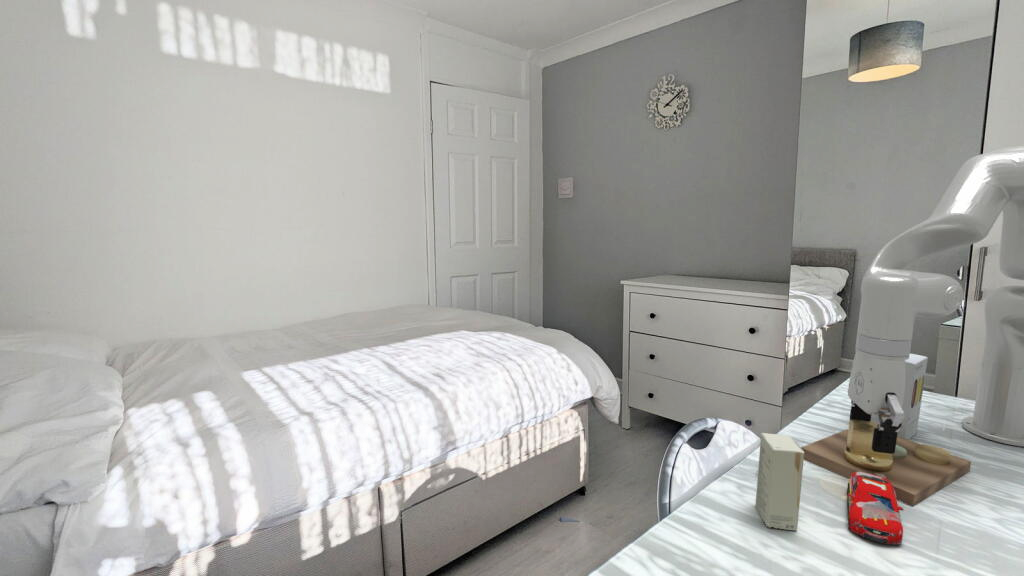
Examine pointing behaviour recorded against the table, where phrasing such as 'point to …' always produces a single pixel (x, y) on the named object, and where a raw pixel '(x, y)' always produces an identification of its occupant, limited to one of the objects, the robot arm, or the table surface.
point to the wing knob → (865, 447)
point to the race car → (874, 508)
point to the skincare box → (779, 481)
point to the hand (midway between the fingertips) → (870, 439)
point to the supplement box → (911, 395)
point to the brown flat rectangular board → (895, 466)
